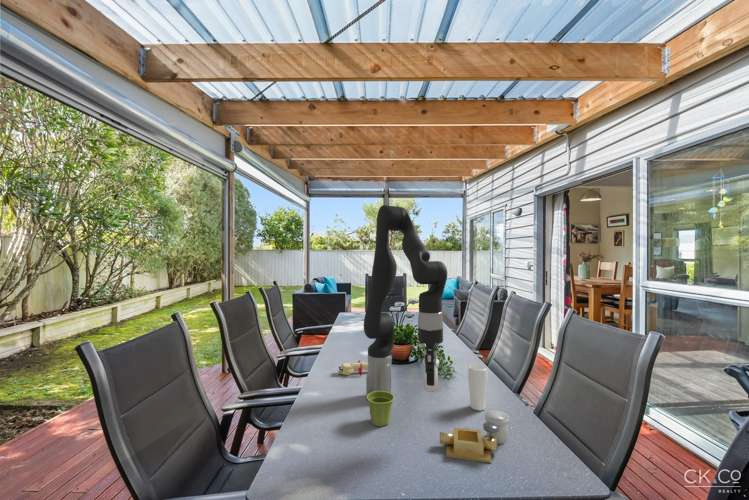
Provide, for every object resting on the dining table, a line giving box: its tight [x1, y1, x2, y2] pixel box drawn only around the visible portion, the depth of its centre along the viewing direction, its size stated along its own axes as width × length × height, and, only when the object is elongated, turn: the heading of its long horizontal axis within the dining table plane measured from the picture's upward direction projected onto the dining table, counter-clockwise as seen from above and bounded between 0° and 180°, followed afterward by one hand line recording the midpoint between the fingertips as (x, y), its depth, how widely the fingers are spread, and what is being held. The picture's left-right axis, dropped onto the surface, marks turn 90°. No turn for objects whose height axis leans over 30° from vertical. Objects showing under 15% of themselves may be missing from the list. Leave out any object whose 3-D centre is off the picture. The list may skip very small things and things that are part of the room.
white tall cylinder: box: [467, 363, 488, 411], centre depth 125 cm, size 7×7×15 cm
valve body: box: [439, 421, 499, 464], centre depth 99 cm, size 17×10×8 cm, turn 78°
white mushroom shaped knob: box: [422, 357, 440, 393], centre depth 104 cm, size 5×5×9 cm
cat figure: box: [337, 359, 368, 377], centre depth 161 cm, size 10×9×25 cm
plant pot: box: [366, 391, 395, 427], centre depth 115 cm, size 9×9×9 cm
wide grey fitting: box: [484, 410, 510, 445], centre depth 105 cm, size 7×7×7 cm
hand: (431, 382), depth 104 cm, fingers closed on white mushroom shaped knob, 4 cm apart
